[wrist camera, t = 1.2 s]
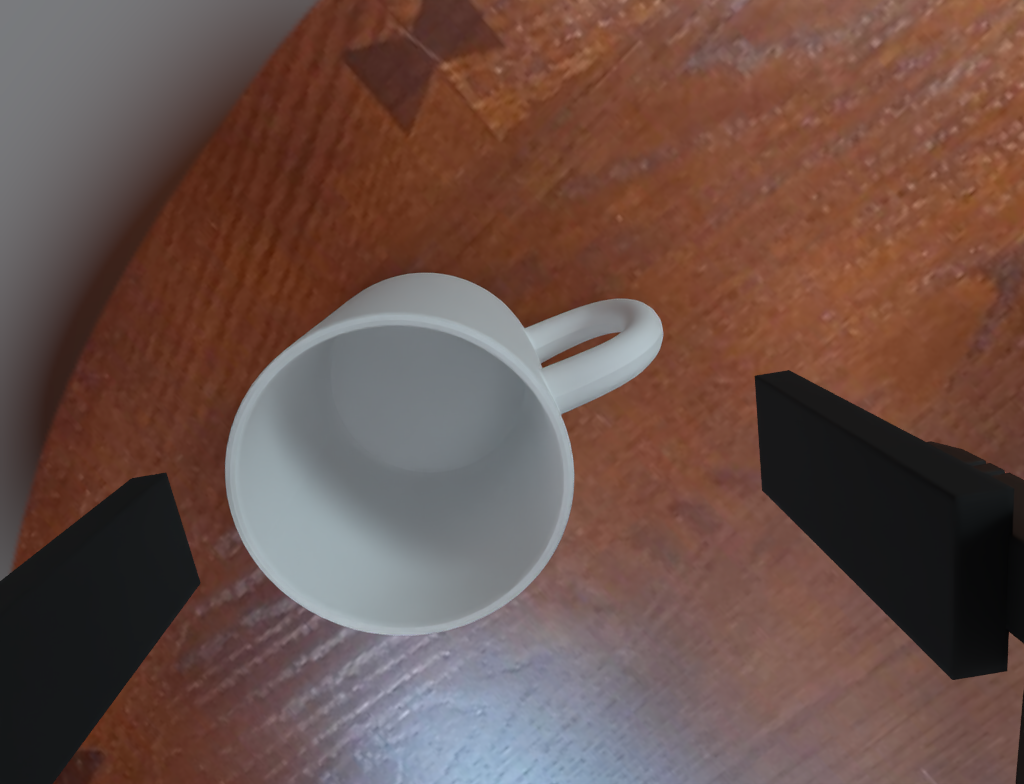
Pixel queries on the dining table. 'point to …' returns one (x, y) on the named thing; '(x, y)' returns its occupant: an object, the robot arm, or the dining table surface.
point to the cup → (420, 450)
